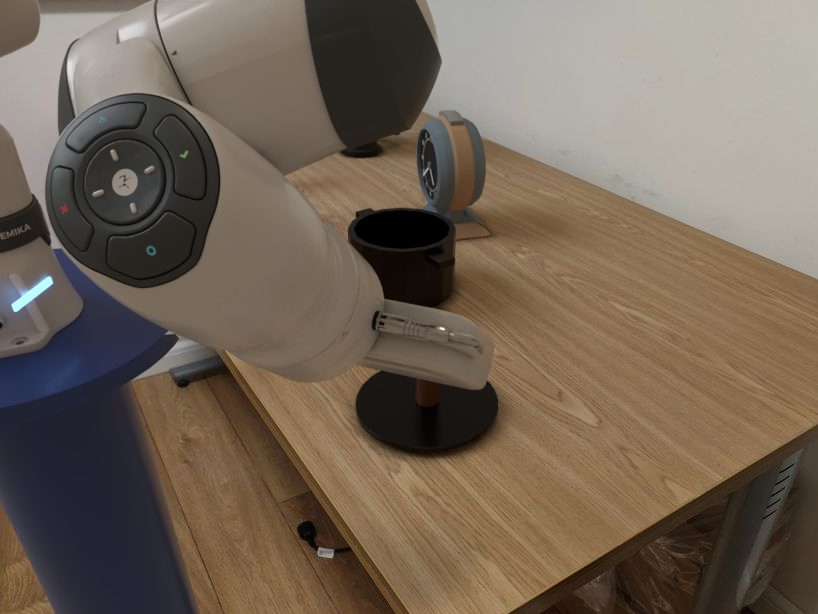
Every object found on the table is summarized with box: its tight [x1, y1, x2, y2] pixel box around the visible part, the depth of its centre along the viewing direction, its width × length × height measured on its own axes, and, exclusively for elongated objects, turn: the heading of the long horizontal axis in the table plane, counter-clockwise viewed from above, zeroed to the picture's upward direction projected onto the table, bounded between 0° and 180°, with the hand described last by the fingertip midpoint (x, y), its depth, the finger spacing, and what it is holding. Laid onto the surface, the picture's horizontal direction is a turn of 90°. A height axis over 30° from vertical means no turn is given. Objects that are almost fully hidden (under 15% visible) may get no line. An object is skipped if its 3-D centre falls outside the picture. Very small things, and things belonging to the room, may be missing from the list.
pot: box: [347, 207, 457, 308], centre depth 89 cm, size 14×19×8 cm
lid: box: [354, 370, 500, 453], centre depth 68 cm, size 15×15×8 cm
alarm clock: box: [415, 109, 492, 241], centre depth 105 cm, size 14×10×18 cm
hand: (377, 354), depth 53 cm, fingers open, 8 cm apart
